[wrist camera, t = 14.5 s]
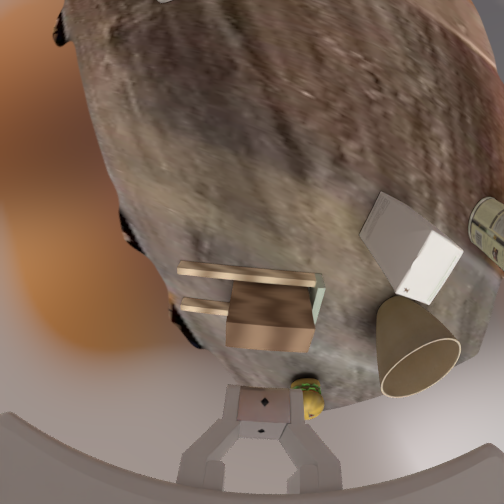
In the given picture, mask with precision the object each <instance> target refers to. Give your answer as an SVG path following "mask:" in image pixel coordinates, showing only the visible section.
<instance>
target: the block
mask: <svg viewBox="0 0 504 504" xmlns="http://www.w3.org/2000/svg"><path fill="white" fill-rule="evenodd" d="M314 332H315V324H314V319H313V313H312V308H311V302H310V297H309V292H308V287H305V286H293V285H281V284H270V283H259V282H249V281H238V280H234V284H233V289H232V294H231V300H230V305H229V310H228V316H227V321H226V346H227V347H236V348H246V349H258V350H270V351H286V352H308V350H309V347H310V344H311V341H312V338H313V335H314Z"/></svg>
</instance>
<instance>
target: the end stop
mask: <svg viewBox="0 0 504 504" xmlns="http://www.w3.org/2000/svg"><path fill="white" fill-rule="evenodd" d="M315 277H316V285H315V287H311V290H310V294H309V297H310V302H311V308H312V313H313V319H314V324H315V323H316V320H317V316H318V313H319V310H320V306H321V303H322V299H323V296H324V292H325V289H326V288H325V284H324V281H323V277H322V274H316V273H315Z"/></svg>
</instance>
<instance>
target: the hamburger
mask: <svg viewBox="0 0 504 504" xmlns="http://www.w3.org/2000/svg"><path fill="white" fill-rule="evenodd" d="M319 386H320V383H319V381H318V380H316V379H312V378H304V379H299V380H296V381H294V382H293V383H292V384H291V389H301V390H302V392H303V404H304V418H305V420H309V419H313V418H315V417H316V416H318V415H319V414H320V413H321V412H322V410H323V408H324V400H323V397H322V396H321V391H320V388H318V387H319Z"/></svg>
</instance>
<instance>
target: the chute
mask: <svg viewBox="0 0 504 504" xmlns="http://www.w3.org/2000/svg"><path fill="white" fill-rule="evenodd" d="M177 271H178V274H183V275H191V276H200V277H209V278H219V279H228V280H238V281H249V282H259V283H270V284H281V285H293V286H305V287H315V285H316V277H315V273H304V272H293V271H281V270H271V269H260V268H249V267H239V266H229V265H219V264H209V263H199V262H190V261H180V263H179V265H178V267H177ZM229 305H230V303H228V302H219V301H211V300H202V299H194V298H186V297H184V298H183V300H182V303H181V310H185V311H192V312H200V313H208V314H216V315H225V316H228V310H229Z"/></svg>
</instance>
